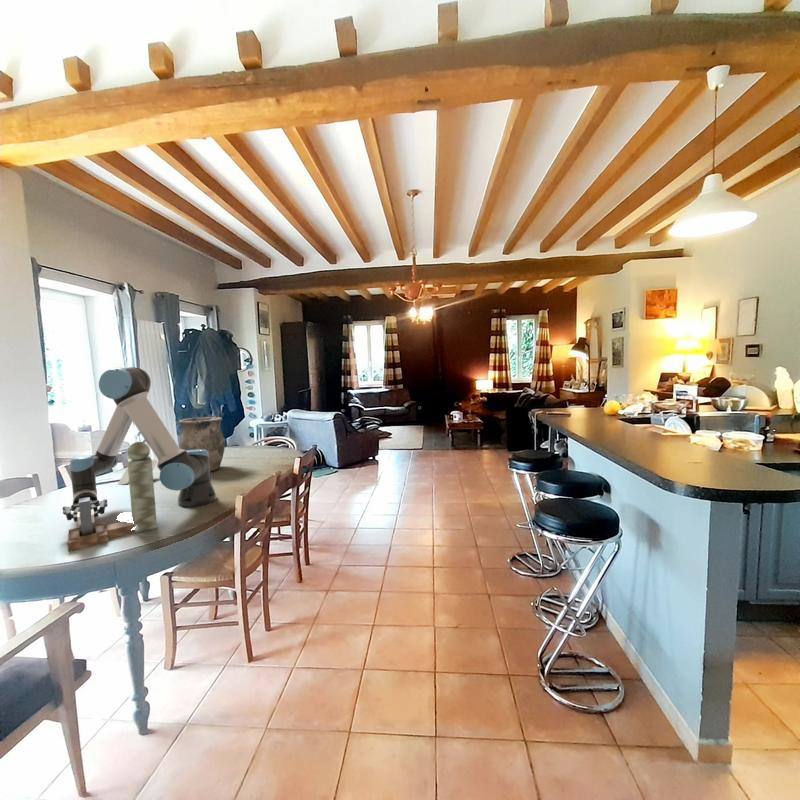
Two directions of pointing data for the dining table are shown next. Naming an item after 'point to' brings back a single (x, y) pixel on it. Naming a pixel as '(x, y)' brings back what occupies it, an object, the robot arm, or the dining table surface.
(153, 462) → the wall
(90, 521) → the grey rectangular block
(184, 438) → the clay pot
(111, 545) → the dining table surface
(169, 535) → the dining table surface
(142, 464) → the knobbed post on base
